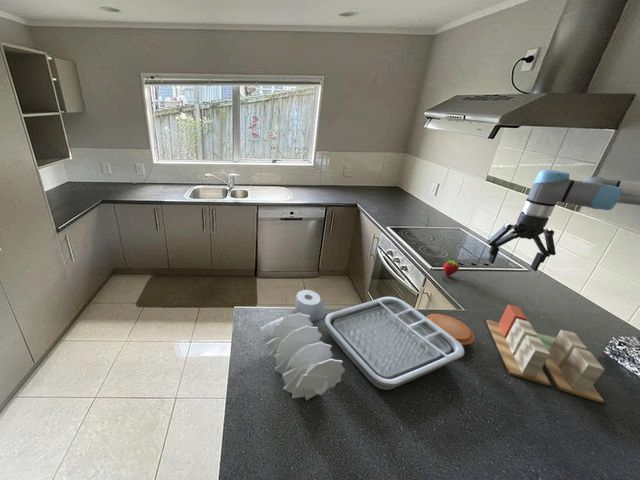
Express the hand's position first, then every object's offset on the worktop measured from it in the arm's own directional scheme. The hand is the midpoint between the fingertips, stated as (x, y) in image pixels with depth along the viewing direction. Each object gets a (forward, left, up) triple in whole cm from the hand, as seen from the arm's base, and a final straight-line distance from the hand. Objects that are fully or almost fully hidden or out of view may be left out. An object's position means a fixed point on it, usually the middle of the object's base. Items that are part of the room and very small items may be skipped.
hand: (511, 265), depth 108 cm
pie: (+5, +29, -24) cm, 38 cm away
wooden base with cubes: (-12, +16, -24) cm, 31 cm away
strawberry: (+22, -17, -24) cm, 37 cm away
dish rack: (+15, +54, -24) cm, 61 cm away
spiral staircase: (+26, +86, -24) cm, 93 cm away
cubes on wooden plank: (-22, +10, -24) cm, 34 cm away
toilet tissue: (+43, +63, -24) cm, 80 cm away
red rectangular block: (-8, +9, -22) cm, 25 cm away
